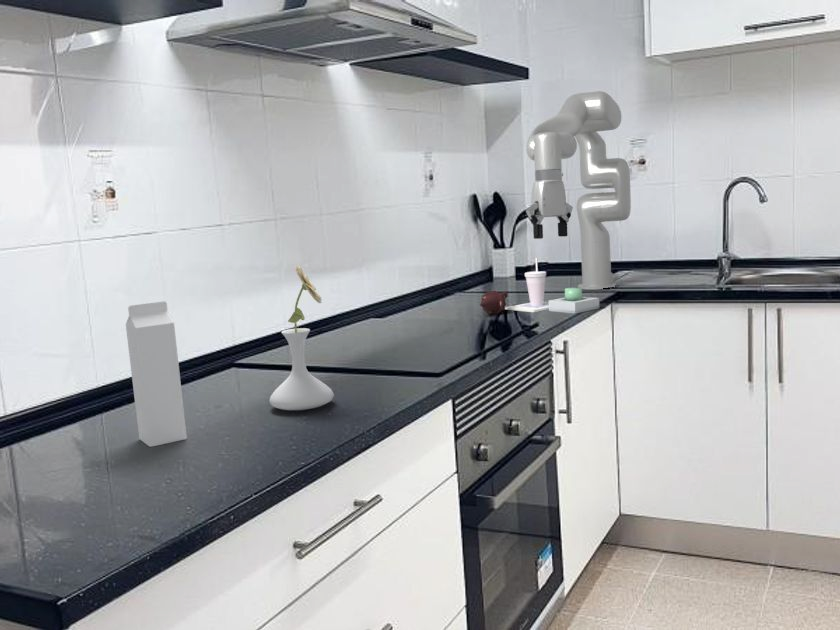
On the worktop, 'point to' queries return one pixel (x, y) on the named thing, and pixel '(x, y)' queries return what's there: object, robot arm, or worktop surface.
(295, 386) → the flower in vase
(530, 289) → the smoothie
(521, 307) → the paper pad
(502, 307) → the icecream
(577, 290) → the button
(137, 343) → the milk
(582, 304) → the grey square block
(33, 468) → the worktop surface
